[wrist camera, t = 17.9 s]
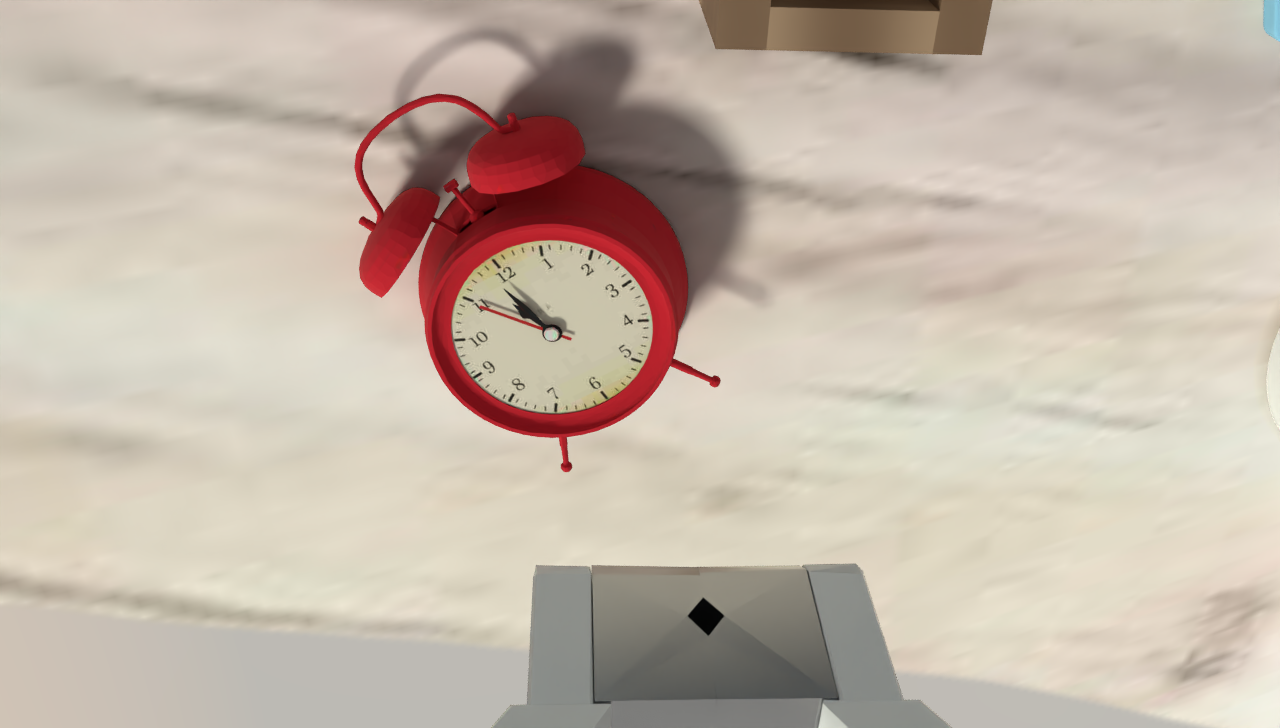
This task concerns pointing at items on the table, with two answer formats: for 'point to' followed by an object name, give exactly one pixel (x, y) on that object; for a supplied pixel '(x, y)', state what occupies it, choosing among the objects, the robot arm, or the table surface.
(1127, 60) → the table surface
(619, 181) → the alarm clock
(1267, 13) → the chair
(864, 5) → the box
